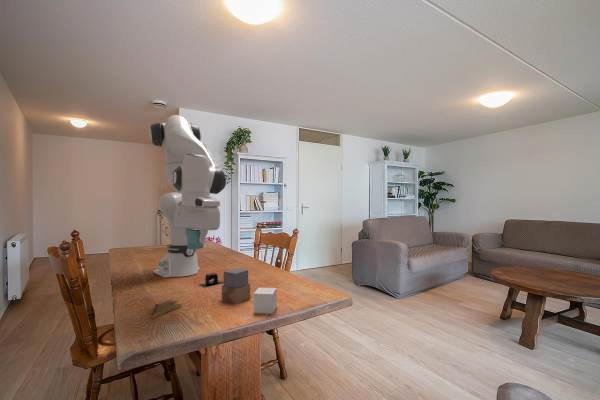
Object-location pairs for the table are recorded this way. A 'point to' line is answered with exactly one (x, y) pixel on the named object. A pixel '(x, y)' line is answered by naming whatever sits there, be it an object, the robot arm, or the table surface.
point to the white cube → (265, 300)
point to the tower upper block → (235, 278)
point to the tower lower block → (235, 293)
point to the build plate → (211, 283)
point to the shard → (165, 307)
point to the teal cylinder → (193, 239)
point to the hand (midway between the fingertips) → (195, 242)
